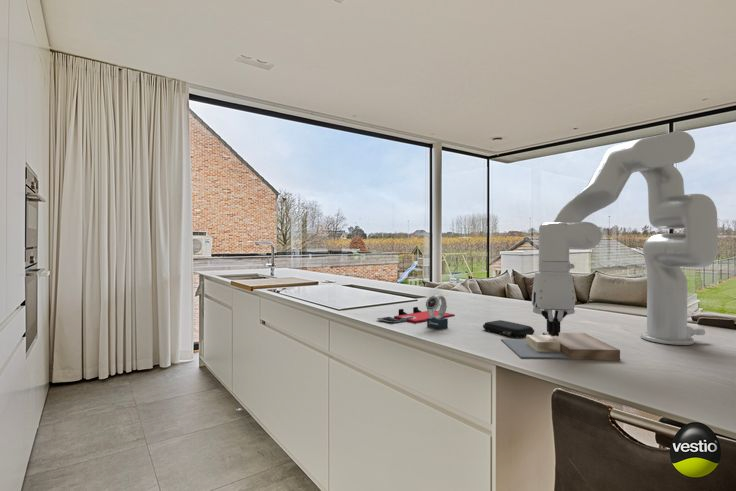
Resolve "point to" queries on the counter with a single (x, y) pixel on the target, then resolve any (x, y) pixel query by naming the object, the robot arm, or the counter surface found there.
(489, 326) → the carrying case or bag
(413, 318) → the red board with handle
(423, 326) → the counter surface
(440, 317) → the watch
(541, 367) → the counter surface
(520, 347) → the rubber mat
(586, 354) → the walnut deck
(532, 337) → the birch tile
